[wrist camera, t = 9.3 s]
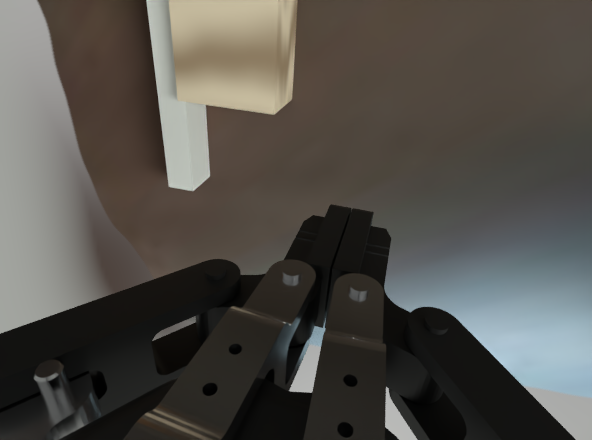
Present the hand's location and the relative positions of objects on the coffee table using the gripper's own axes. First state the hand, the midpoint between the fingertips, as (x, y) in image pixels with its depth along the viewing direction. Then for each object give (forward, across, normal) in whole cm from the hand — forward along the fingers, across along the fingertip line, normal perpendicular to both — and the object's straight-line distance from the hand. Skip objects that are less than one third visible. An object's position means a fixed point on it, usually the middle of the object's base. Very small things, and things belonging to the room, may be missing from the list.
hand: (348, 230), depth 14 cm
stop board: (+21, +18, 0) cm, 27 cm away
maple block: (+21, +12, -2) cm, 25 cm away
